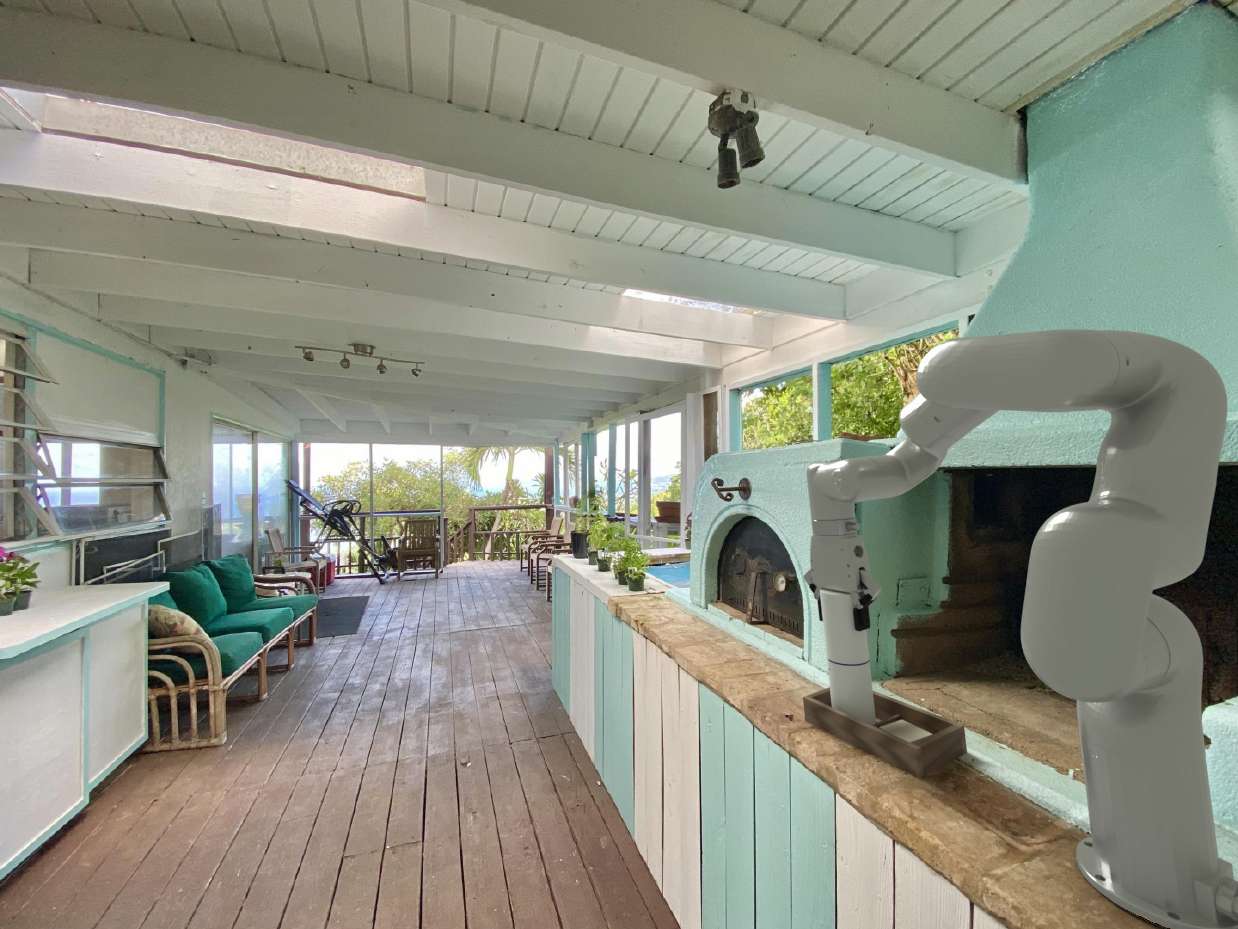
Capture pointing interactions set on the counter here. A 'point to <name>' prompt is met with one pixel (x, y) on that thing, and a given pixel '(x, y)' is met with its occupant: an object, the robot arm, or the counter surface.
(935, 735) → the tray
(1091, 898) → the counter surface
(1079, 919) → the counter surface
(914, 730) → the offcut top
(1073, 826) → the counter surface
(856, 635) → the cylindrical container
